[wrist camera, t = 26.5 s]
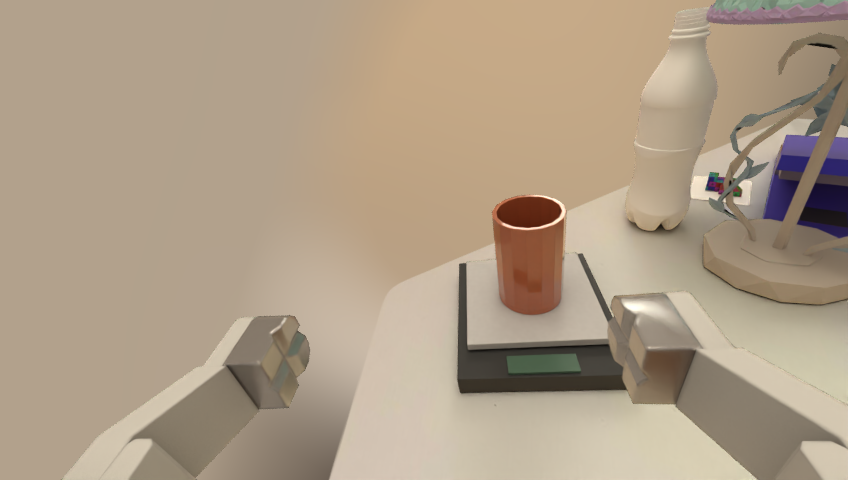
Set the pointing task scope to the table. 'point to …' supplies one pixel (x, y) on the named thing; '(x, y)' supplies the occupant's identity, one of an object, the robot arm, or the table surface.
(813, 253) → the table lamp
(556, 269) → the cup
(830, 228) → the stapler
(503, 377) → the scale
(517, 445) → the table surface
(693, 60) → the water bottle
